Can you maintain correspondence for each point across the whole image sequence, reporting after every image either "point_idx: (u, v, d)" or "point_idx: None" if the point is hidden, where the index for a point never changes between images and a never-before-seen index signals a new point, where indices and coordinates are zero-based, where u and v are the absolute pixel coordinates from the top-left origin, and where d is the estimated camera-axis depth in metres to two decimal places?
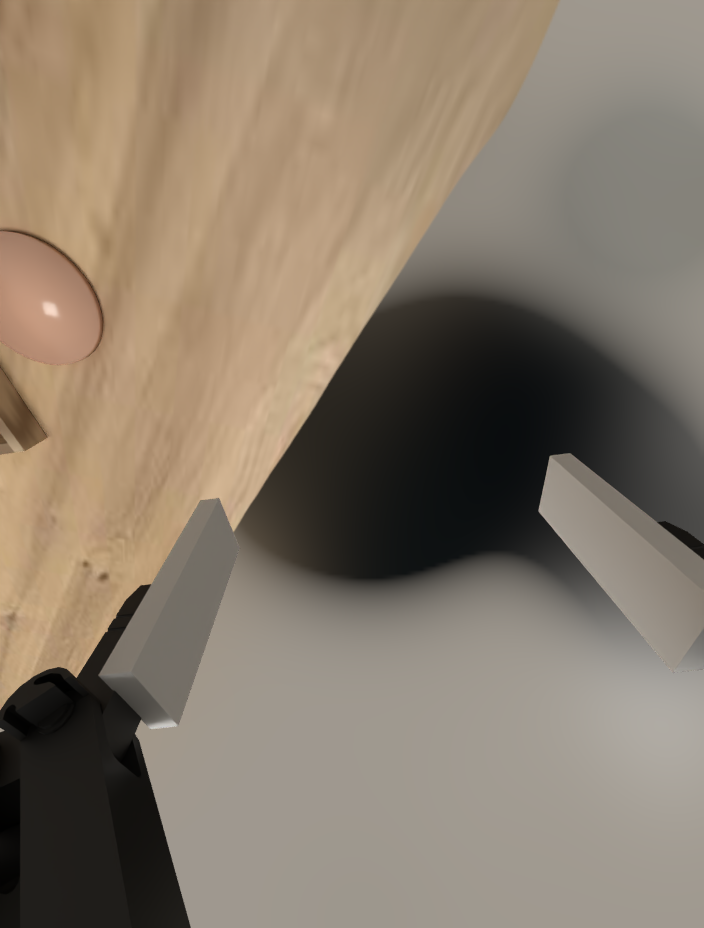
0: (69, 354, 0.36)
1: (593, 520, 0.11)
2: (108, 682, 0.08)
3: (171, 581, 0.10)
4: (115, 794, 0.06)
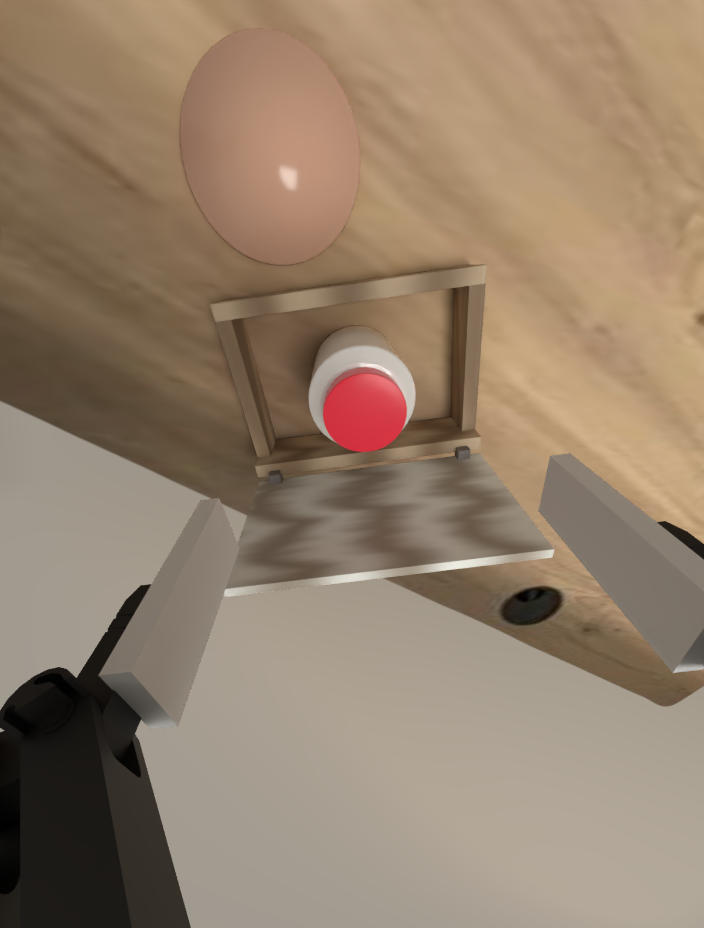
0: (344, 132, 0.22)
1: (593, 520, 0.11)
2: (108, 682, 0.08)
3: (171, 581, 0.10)
4: (115, 794, 0.06)
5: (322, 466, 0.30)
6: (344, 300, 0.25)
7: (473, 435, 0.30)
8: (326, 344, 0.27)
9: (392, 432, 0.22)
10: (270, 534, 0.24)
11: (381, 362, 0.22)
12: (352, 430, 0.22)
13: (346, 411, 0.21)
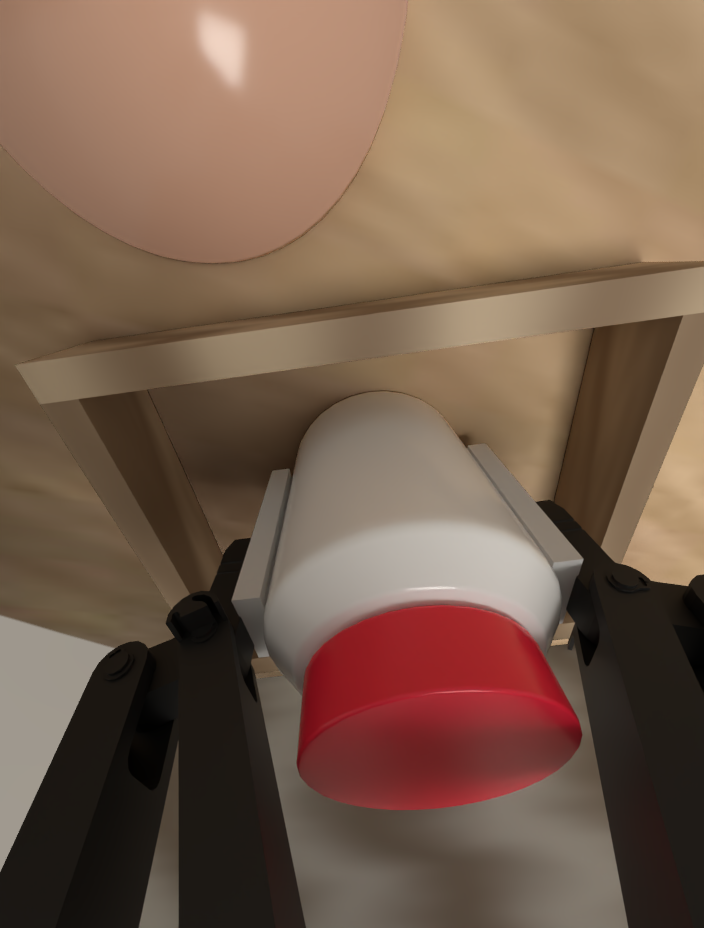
0: None
1: None
2: (237, 608, 0.09)
3: (269, 532, 0.11)
4: (245, 712, 0.07)
5: None
6: (362, 353, 0.10)
7: None
8: (317, 445, 0.12)
9: (515, 782, 0.07)
10: None
11: (490, 580, 0.07)
12: (392, 786, 0.07)
13: (374, 760, 0.06)
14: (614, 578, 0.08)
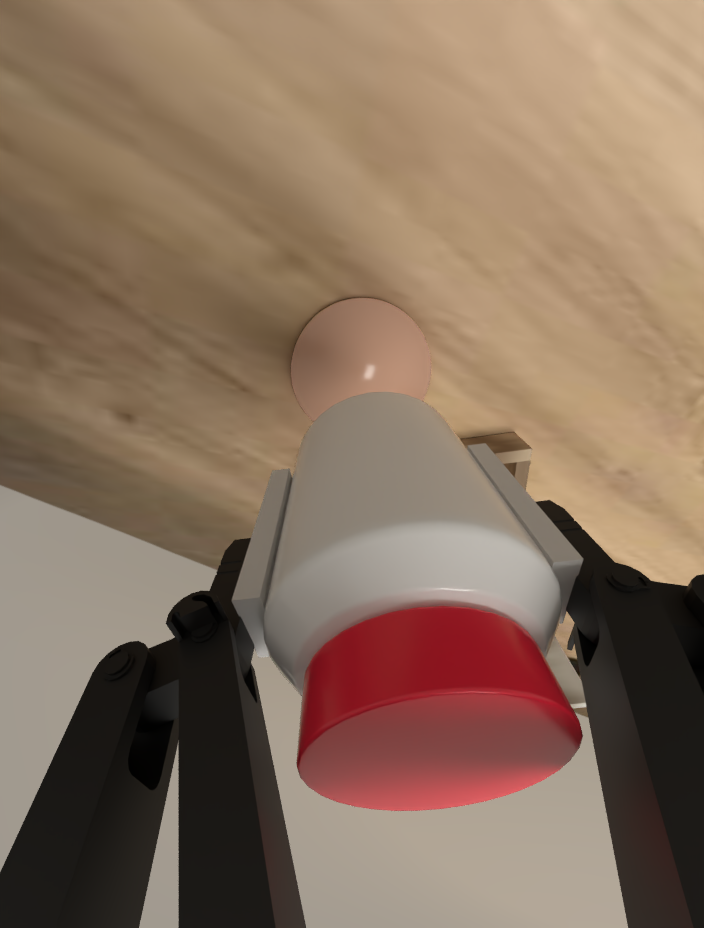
0: (420, 356, 0.28)
1: None
2: (237, 607, 0.09)
3: (269, 532, 0.11)
4: (246, 711, 0.07)
5: None
6: None
7: None
8: (317, 446, 0.12)
9: (515, 783, 0.07)
10: None
11: (491, 581, 0.07)
12: (392, 787, 0.07)
13: (375, 761, 0.06)
14: (614, 578, 0.08)
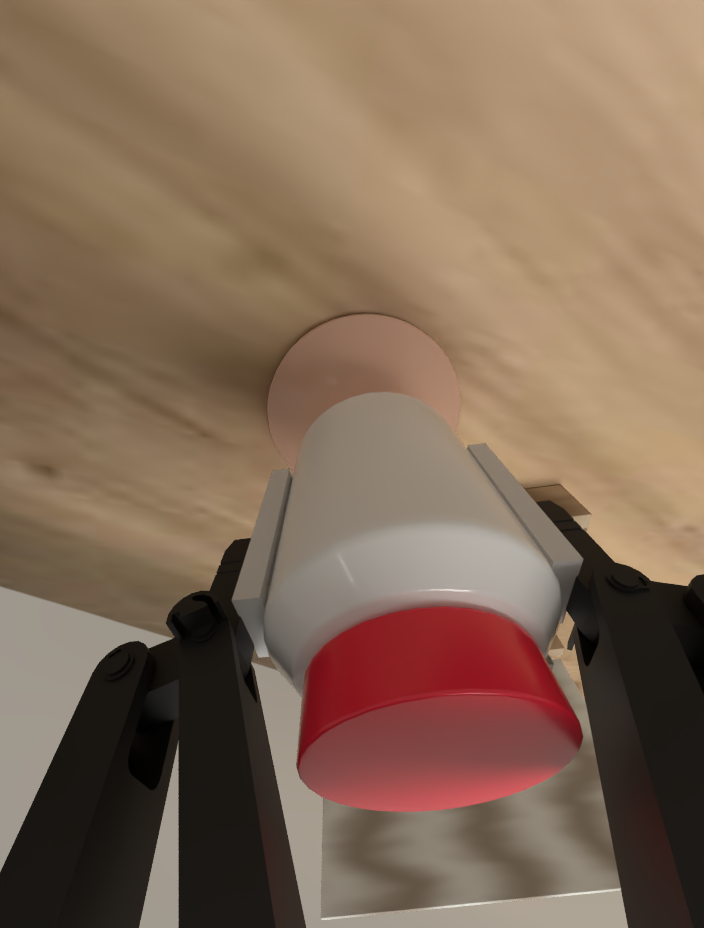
0: (446, 394, 0.20)
1: None
2: (238, 607, 0.09)
3: (269, 532, 0.11)
4: (246, 711, 0.07)
5: None
6: None
7: (555, 643, 0.28)
8: (317, 446, 0.12)
9: (516, 784, 0.07)
10: None
11: (491, 581, 0.07)
12: (392, 789, 0.07)
13: (374, 762, 0.06)
14: (614, 578, 0.08)
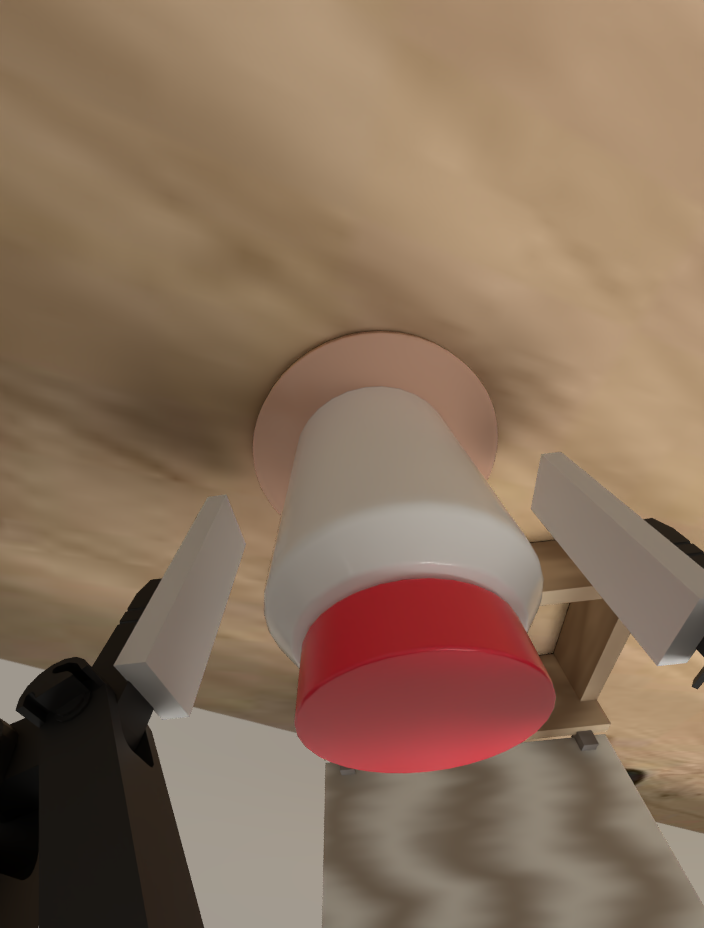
0: (480, 432, 0.16)
1: (582, 517, 0.11)
2: (122, 672, 0.08)
3: (182, 575, 0.10)
4: (130, 783, 0.06)
5: None
6: None
7: (599, 717, 0.24)
8: (315, 437, 0.12)
9: (497, 745, 0.08)
10: None
11: (473, 556, 0.07)
12: (383, 748, 0.08)
13: (366, 720, 0.07)
14: None
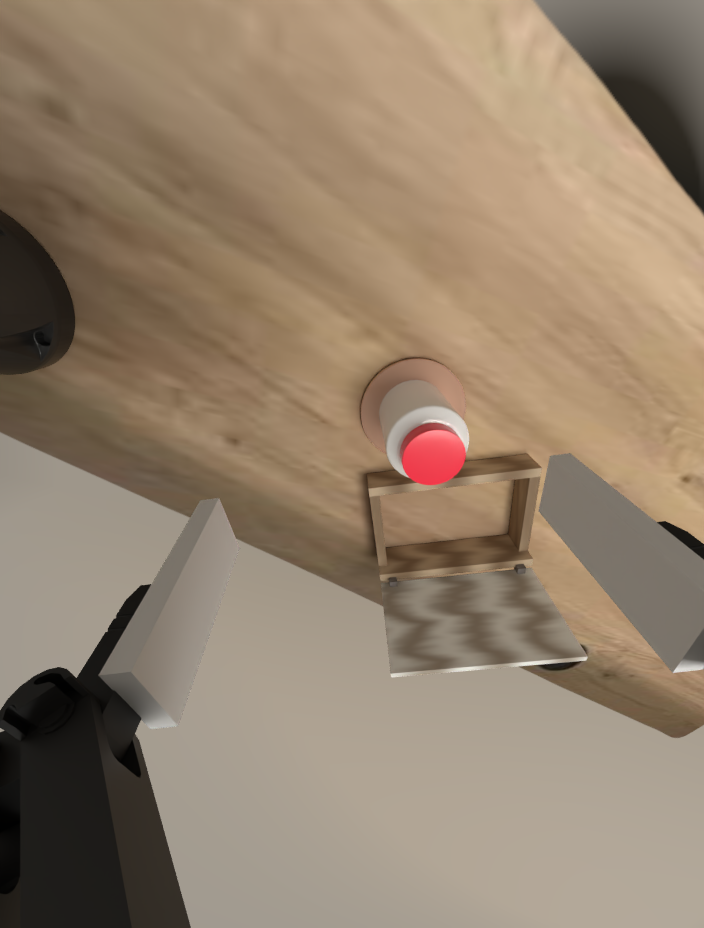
0: (458, 399, 0.37)
1: (593, 520, 0.11)
2: (108, 682, 0.08)
3: (171, 581, 0.10)
4: (115, 794, 0.06)
5: (424, 575, 0.45)
6: (451, 485, 0.40)
7: (527, 556, 0.44)
8: (394, 397, 0.34)
9: (453, 471, 0.29)
10: (405, 632, 0.39)
11: (446, 418, 0.29)
12: (423, 470, 0.29)
13: (419, 456, 0.28)
14: None
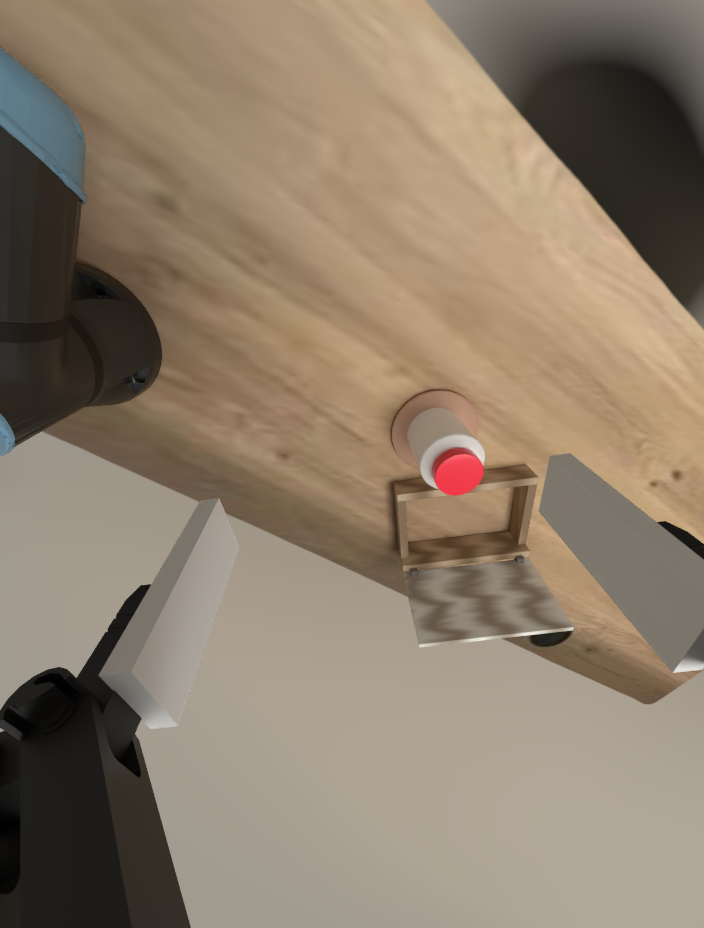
0: (472, 422, 0.46)
1: (593, 520, 0.11)
2: (108, 682, 0.08)
3: (171, 581, 0.10)
4: (115, 794, 0.06)
5: (440, 565, 0.54)
6: None
7: (525, 549, 0.54)
8: (423, 423, 0.42)
9: (473, 484, 0.38)
10: (428, 612, 0.48)
11: (468, 444, 0.37)
12: (450, 483, 0.38)
13: (448, 473, 0.37)
14: None
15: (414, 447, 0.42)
